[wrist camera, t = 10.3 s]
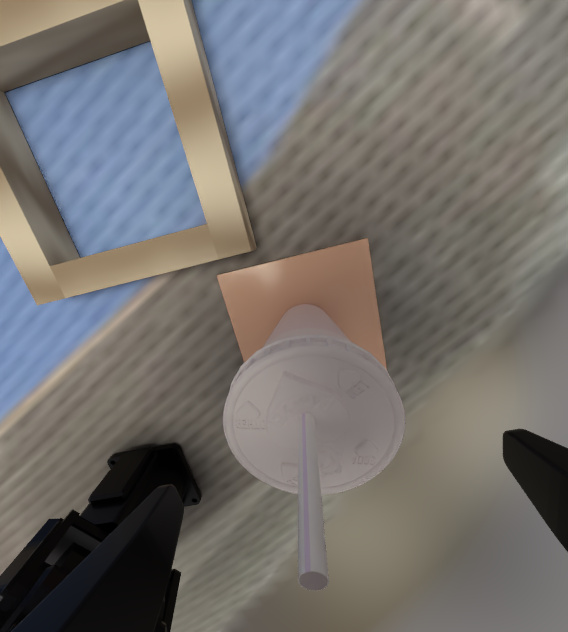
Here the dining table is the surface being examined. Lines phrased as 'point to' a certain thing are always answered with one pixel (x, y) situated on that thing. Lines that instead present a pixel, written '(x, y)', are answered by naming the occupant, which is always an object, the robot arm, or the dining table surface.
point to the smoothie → (313, 421)
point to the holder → (192, 122)
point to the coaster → (306, 295)
